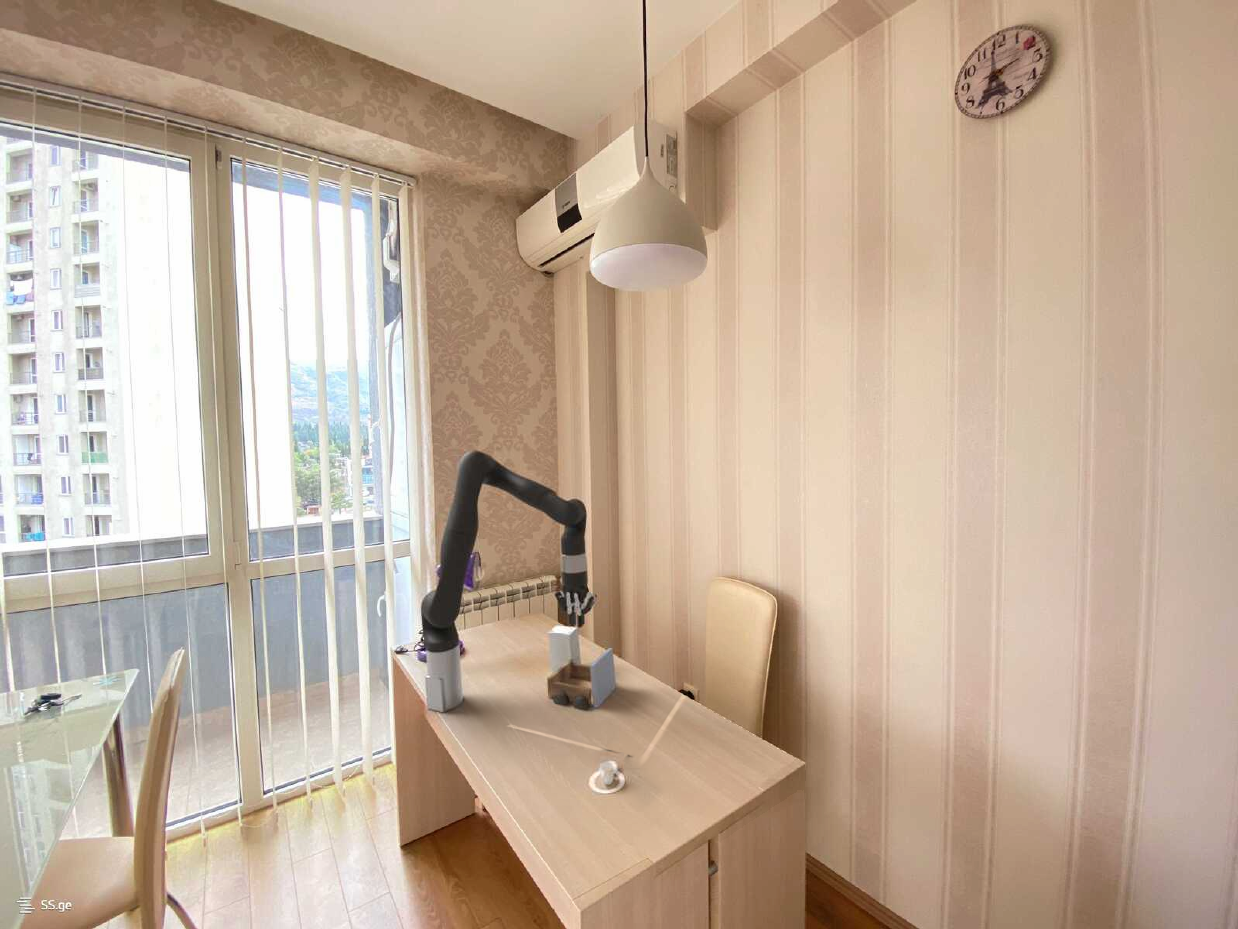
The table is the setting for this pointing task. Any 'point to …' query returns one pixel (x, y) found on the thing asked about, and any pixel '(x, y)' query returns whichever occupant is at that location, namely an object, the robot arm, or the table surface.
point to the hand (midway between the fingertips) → (577, 626)
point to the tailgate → (602, 677)
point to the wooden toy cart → (571, 685)
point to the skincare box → (563, 646)
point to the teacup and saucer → (607, 777)
